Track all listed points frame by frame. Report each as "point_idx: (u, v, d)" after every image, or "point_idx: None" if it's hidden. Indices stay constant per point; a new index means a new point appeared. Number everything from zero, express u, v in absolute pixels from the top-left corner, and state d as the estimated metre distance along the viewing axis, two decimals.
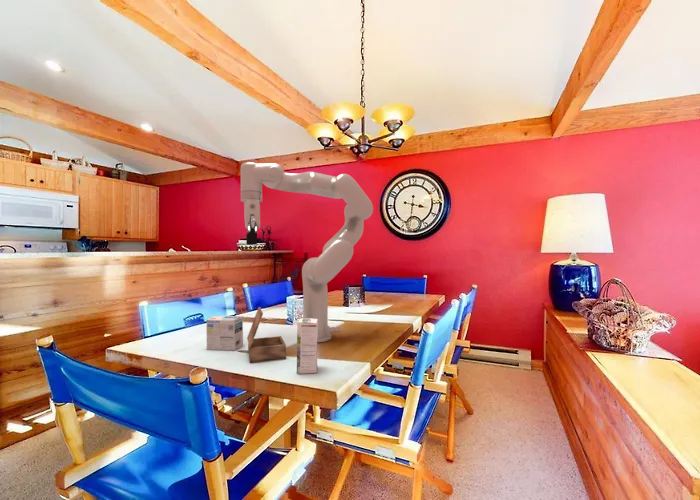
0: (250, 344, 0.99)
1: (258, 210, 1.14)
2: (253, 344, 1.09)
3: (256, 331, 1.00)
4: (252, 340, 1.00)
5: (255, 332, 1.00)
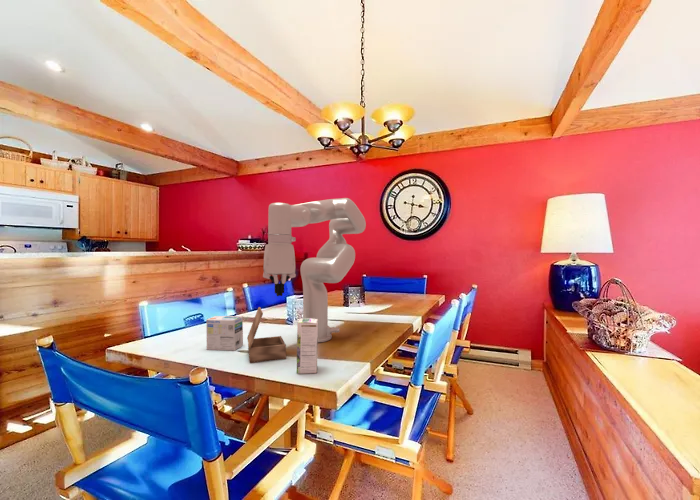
0: (250, 344, 0.99)
1: None
2: (253, 344, 1.09)
3: (256, 331, 1.00)
4: (252, 340, 1.00)
5: (255, 332, 1.00)
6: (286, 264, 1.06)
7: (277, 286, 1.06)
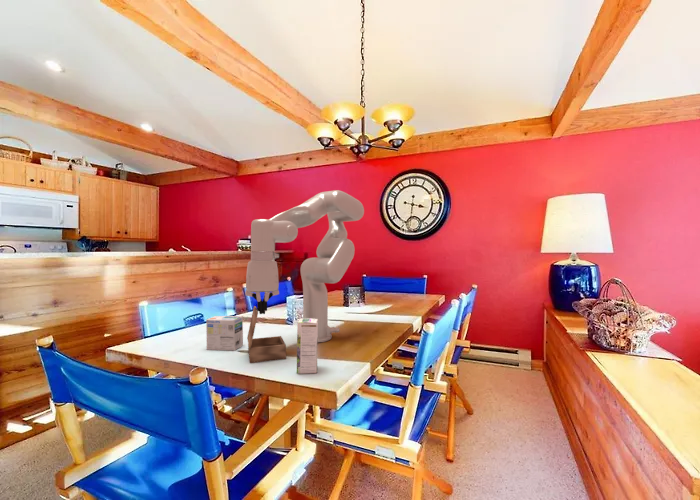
0: (250, 344, 0.99)
1: None
2: (253, 344, 1.09)
3: None
4: (251, 340, 0.99)
5: (253, 332, 1.00)
6: (269, 281, 1.04)
7: (260, 304, 1.04)
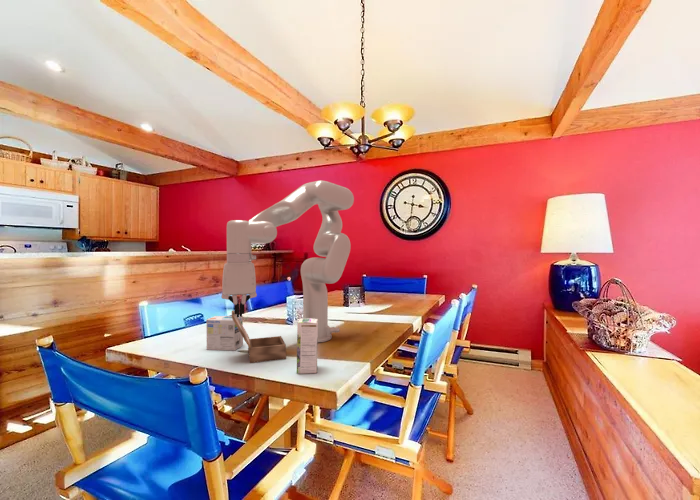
0: (248, 344, 0.99)
1: None
2: (253, 344, 1.09)
3: (243, 332, 0.99)
4: (246, 341, 0.99)
5: (242, 333, 0.99)
6: (245, 284, 1.02)
7: (236, 307, 1.02)
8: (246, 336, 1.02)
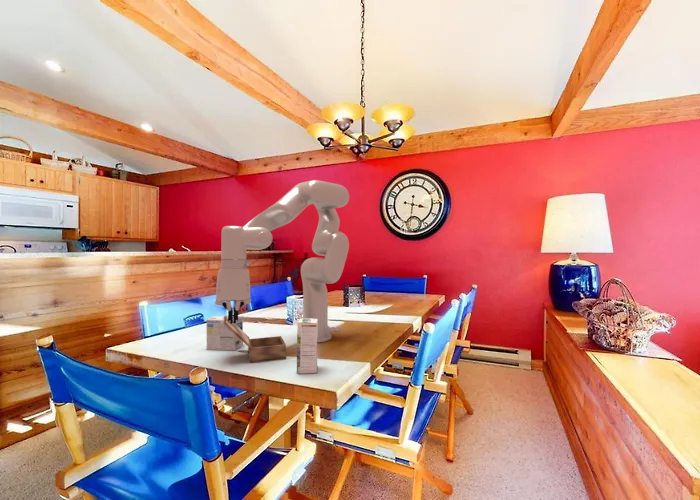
0: (248, 345, 0.99)
1: None
2: (253, 344, 1.09)
3: (239, 334, 0.99)
4: (245, 342, 0.99)
5: (239, 336, 0.98)
6: (239, 290, 1.01)
7: (230, 313, 1.01)
8: (244, 337, 1.02)
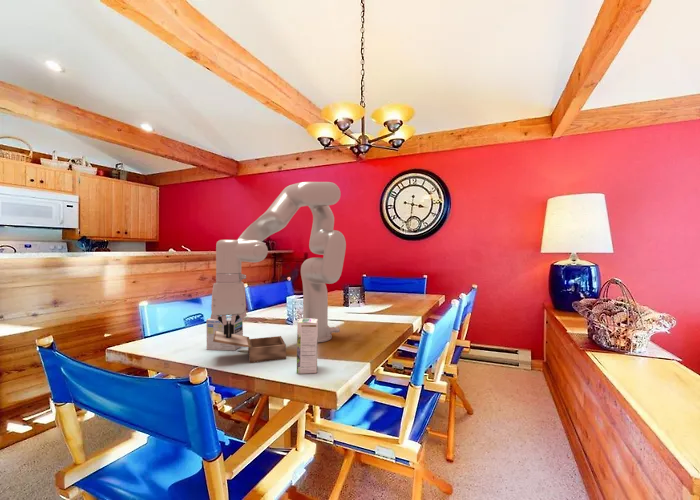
0: (247, 346, 0.99)
1: None
2: (253, 344, 1.09)
3: (233, 342, 0.98)
4: (243, 345, 0.99)
5: (234, 343, 0.98)
6: (235, 304, 1.01)
7: (226, 327, 1.01)
8: (241, 341, 1.01)
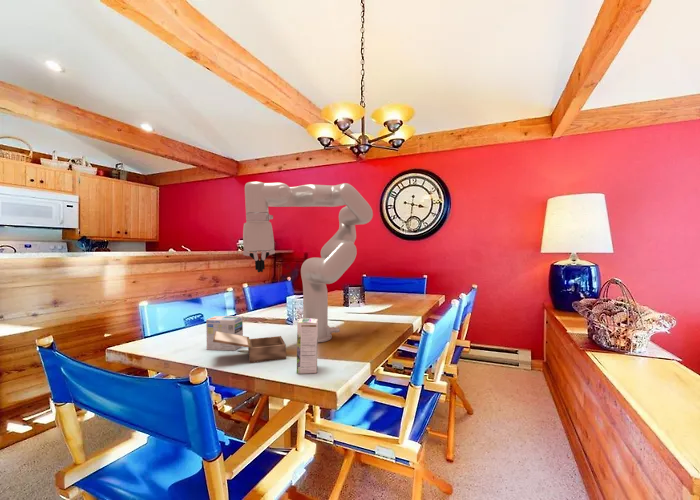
0: (247, 346, 0.99)
1: None
2: (253, 344, 1.09)
3: (233, 342, 0.98)
4: (243, 345, 0.99)
5: (234, 343, 0.98)
6: (265, 241, 1.10)
7: (257, 263, 1.10)
8: (241, 341, 1.01)
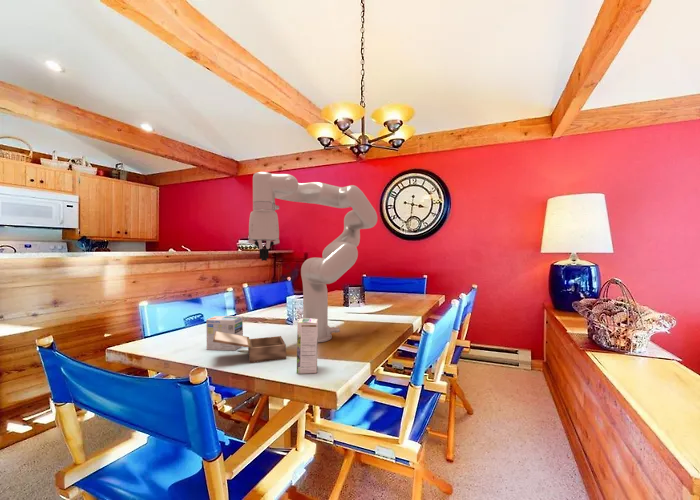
0: (247, 346, 0.99)
1: None
2: (253, 344, 1.09)
3: (233, 342, 0.98)
4: (243, 345, 0.99)
5: (234, 343, 0.98)
6: (270, 230, 1.12)
7: (262, 251, 1.12)
8: (241, 341, 1.01)
